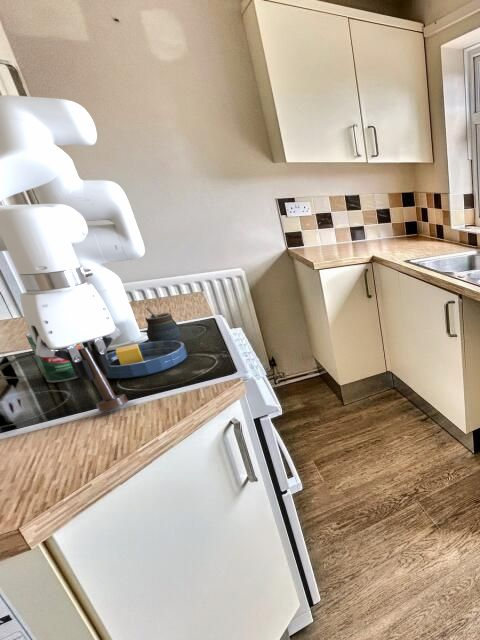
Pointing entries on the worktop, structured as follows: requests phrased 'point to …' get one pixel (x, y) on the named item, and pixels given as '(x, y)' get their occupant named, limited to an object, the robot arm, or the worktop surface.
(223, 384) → the worktop surface
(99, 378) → the muddler
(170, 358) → the bowl
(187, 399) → the worktop surface
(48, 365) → the canned tomato
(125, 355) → the block
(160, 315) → the mate gourd
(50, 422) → the worktop surface
